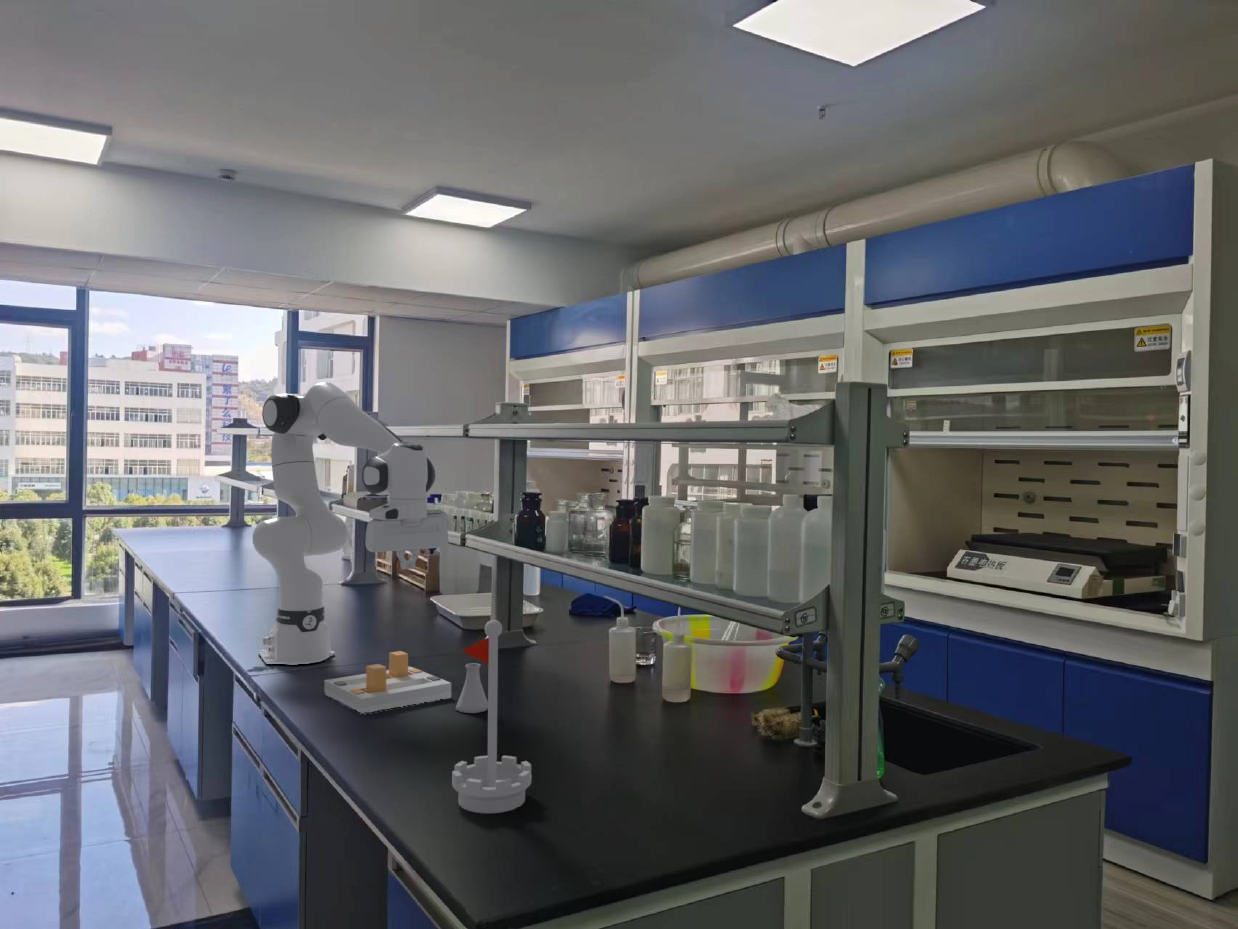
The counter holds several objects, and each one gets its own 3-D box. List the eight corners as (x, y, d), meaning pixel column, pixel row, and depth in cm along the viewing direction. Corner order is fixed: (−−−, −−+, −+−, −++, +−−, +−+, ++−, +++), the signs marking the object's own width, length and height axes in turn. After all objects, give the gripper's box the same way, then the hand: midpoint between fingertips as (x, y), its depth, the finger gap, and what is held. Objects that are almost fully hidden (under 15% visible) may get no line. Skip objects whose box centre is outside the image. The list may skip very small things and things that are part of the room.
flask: (469, 703, 210) (470, 659, 210) (495, 708, 207) (496, 663, 206) (449, 711, 204) (449, 665, 204) (475, 716, 200) (475, 670, 200)
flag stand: (533, 785, 160) (535, 613, 159) (528, 816, 147) (530, 628, 146) (457, 785, 160) (459, 612, 159) (446, 816, 147) (447, 627, 146)
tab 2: (387, 680, 222) (387, 652, 221) (402, 678, 224) (402, 650, 224) (394, 684, 219) (394, 655, 218) (409, 681, 221) (410, 653, 221)
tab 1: (364, 695, 208) (364, 666, 208) (380, 692, 211) (380, 663, 211) (371, 699, 205) (371, 669, 205) (388, 696, 208) (388, 666, 208)
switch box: (324, 695, 215) (324, 678, 215) (410, 680, 229) (410, 665, 229) (361, 714, 200) (361, 697, 200) (451, 697, 214) (451, 681, 214)
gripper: (440, 508, 228) (440, 564, 229) (362, 511, 215) (362, 570, 215) (453, 509, 224) (453, 566, 224) (374, 513, 210) (374, 573, 211)
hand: (407, 568), depth 219 cm, fingers closed
